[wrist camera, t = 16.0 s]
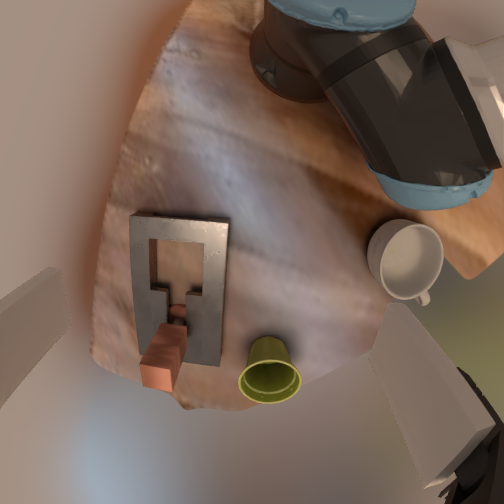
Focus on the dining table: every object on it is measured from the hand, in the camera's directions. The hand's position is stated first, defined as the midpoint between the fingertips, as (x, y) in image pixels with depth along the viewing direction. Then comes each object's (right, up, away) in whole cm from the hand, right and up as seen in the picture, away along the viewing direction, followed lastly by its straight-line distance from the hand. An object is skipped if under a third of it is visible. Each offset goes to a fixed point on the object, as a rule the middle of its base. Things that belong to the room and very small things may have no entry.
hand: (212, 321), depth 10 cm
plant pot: (+4, -14, +38) cm, 41 cm away
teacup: (+24, +2, +32) cm, 40 cm away
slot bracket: (-10, -3, +35) cm, 36 cm away
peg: (-10, -9, +36) cm, 39 cm away
